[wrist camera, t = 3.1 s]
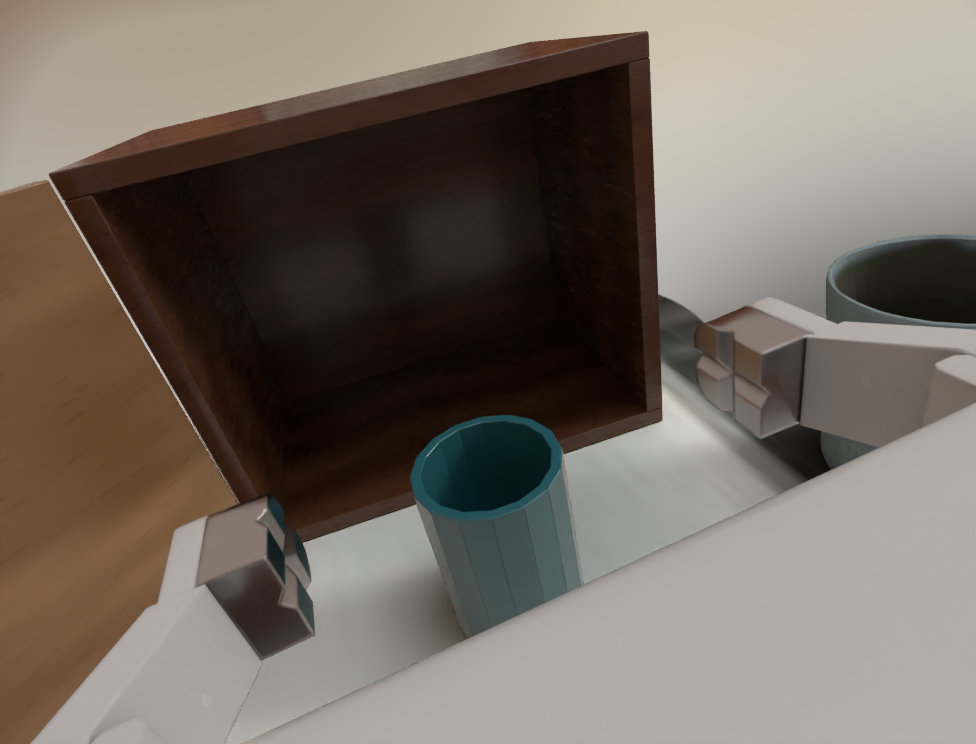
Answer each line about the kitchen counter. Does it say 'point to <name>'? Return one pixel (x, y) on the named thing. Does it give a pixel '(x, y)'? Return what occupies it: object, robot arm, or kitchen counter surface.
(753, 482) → the kitchen counter surface
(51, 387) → the cupboard door
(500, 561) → the cup
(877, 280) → the grey mug
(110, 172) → the cupboard
